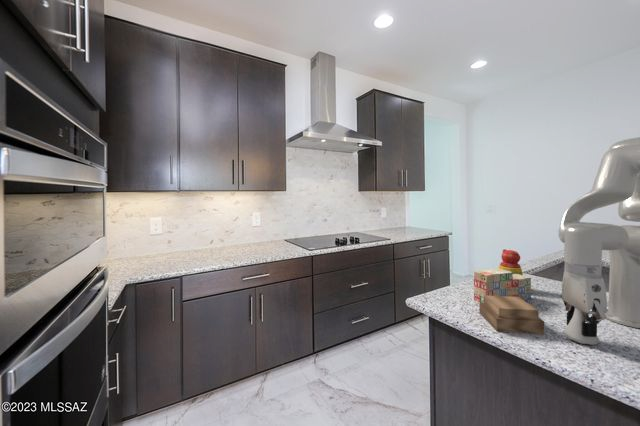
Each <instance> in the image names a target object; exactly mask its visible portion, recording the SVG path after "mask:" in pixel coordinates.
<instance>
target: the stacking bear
mask: <svg viewBox="0 0 640 426" xmlns="http://www.w3.org/2000/svg"><path fill="white" fill-rule="evenodd" d="M500 257H501V262H500V263H499V265H498V267H497V269H502V270H506V271H510V272H513V274H519V275H523V276H524V274H523V269H522V267H521V264H520V263H519V262H520V260H521V255H520V254H519V252H517V251H516V250H511V249H508V250H507V249H503V250H502V253H501V256H500Z"/></svg>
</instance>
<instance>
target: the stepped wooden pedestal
mask: <svg viewBox="0 0 640 426" xmlns="http://www.w3.org/2000/svg"><path fill="white" fill-rule="evenodd" d="M478 310H479V311H478V312H479V315H480V316H481V317H482V318H483V319H484V320H485V321H486V322H487V323H488V324H489V325H490V326H491V327H492V328H493V329H494V330H495V331H496V332H503V333H504V332H505V333H519V334H532V335H534V334H536V335H545V321H544V320H543V319H542V318H540V315H539V314H540V310H539V309H538V308H536V307H534V305H531V304H530V303H529V302H528V301H524V300H523V299H521V298H520V297H509V296H486V295H484V303H481V302H479V309H478Z"/></svg>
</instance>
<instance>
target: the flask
mask: <svg viewBox="0 0 640 426" xmlns="http://www.w3.org/2000/svg"><path fill="white" fill-rule="evenodd" d="M588 316H589V317H590V314H588ZM582 322H584V318H583V313H582V311H581V310H579V309H578V308H576V307H575V311H574V314H573V317H572V319H571V321H570V322H569V324H568V325H566V327H565V328H564V330H563V332H562V334H563V336H564V337H565V336H566V338H568V339H569V340H572V341H574V342H577V343H579V344H583V345H590V346H591V345H592V346H593V345H594V346H595V345H598V344H600V343H601V341H600V339H599V336H598V335H597V336H596V337H585V336H583V335H582Z"/></svg>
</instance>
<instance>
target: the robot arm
mask: <svg viewBox="0 0 640 426" xmlns="http://www.w3.org/2000/svg"><path fill="white" fill-rule="evenodd" d="M592 185H593V186H592V188H591V190H589V192H587V193H585V194H584V195H582V196H580V197H579V198H577V199H576V200H575V201H574V202H572V203H571V204H570V205H569V206H568V207H567V208H566V210H565V211H564V212H563V215H562V218H561V221H560V224H559V228H558V238H559V240H560V241H561V243H563V244H564V247H563V248H564V250H563V251H564V254H563V256H564V257H563V259H564V260H563V261H564V262H563V275H562V283H561V295H560V298H561V300H562V302H563V305H564V307H565V312H566V326H568V324H569V322H570V321H571V319H572V317H573V314H574V311H575V307H576V308H578V309H579V310H581V311H582V313H583V318H584V322H582V335H583V336H585V337H596V336H598V325H599V324H600V322H602V321H604V320H606V319H607V320H609V321H611V322H614V323H616V324H620V325H623V326H627V327H632V328H634V329H635V328H636V329H640V225H632V224H629V225H627V224H625V225H624V224H623V225H618V224H613V223H599V222H587V221H586V222H583V221H581V220H582V219H583V218H584V217H585V216H586V215H587V214H589V213H591V212H593V211H595V210H598V209H601V208H604V207H608V206H611V205H615V204H617V203H618V209H617V211H618V212H617V214H618V216H619V218H620V219H621V220H624V221H628V222H634V223H635V222H636V223H639V222H640V137H639V136H638V137H633V138H628V139H623V140H619V141H617V142H615V143H613V144H611V145H610V147H609V148H608V150H607V151H606V152H605V153H604V154H603V155H602V158H601V161H600V163H599V166H598V169H597V173H596V176H595V178H594V182H593V184H592ZM603 251H608V254H609V276H608V277H609V284H608V297H607V290H606V284H605V280H604V277H602V264H603V263H602V262H603V261H602V260H603ZM607 298H608V301H607ZM588 314H589V316H588ZM590 315H591V316H590Z"/></svg>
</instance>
